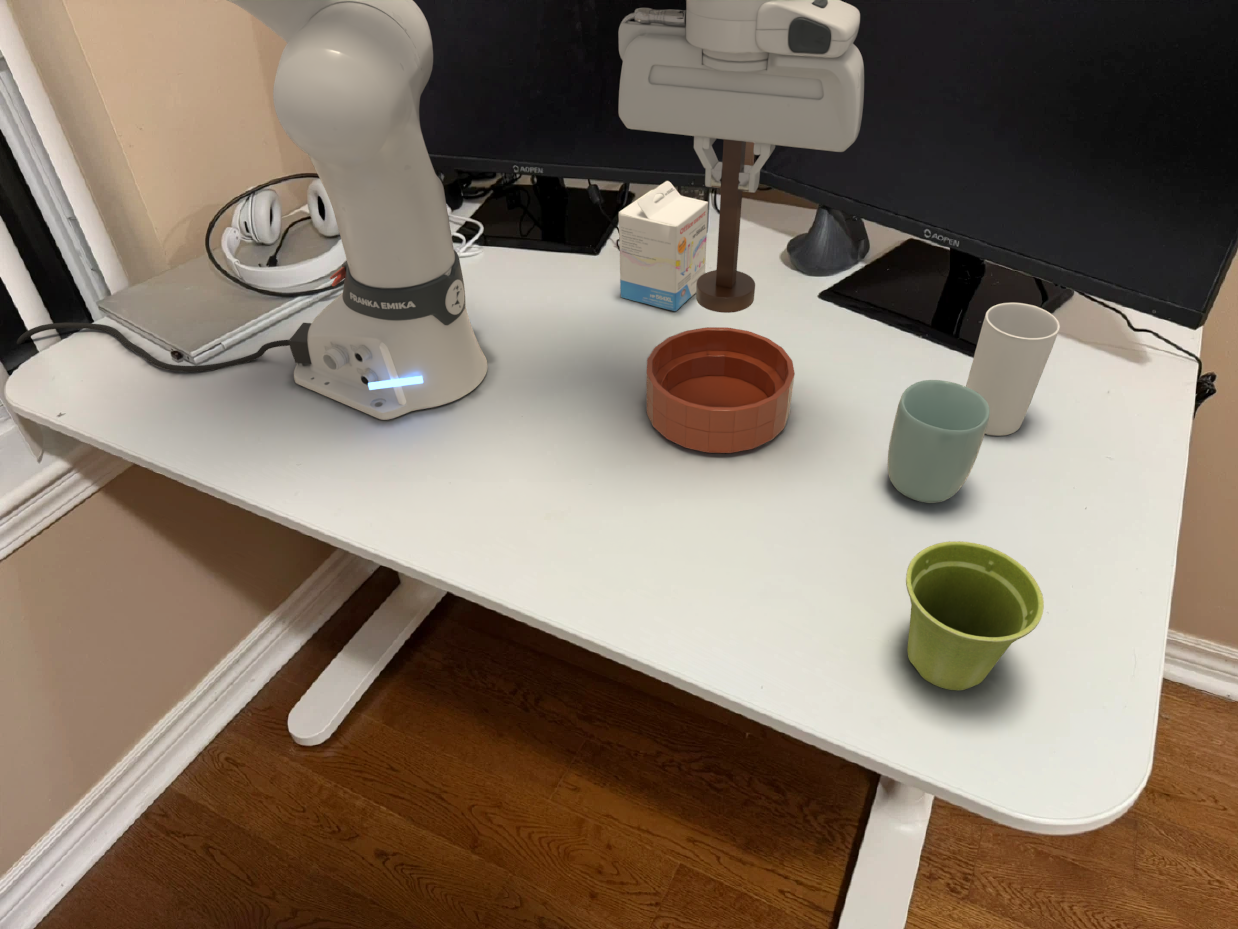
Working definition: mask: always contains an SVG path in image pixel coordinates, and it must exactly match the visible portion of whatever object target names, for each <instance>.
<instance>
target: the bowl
mask: <svg viewBox="0 0 1238 929" xmlns="http://www.w3.org/2000/svg"><path fill="white" fill-rule="evenodd" d="M645 373H646V374H645V375H646V377H645V378H646V382H645V383H646V415H647V417H648V419H649V421H650V423H651V425H652V427H653V428H654V429H655V430H656V431H657V432H658V433H660V434H661V436H663V437H664V438H665V439H666V440H669V441H671V442H673V443H675V444H677V445H679V446H681V447H683V448H686V449H689V450H693V451H699V452H703V453H708V454H709V453H714V454H725V453H726V454H732V453H733V454H734V453H739V452H744V451H748V450H749V451H750V450H753V449H756V448H758V447H760V446H762V445H764V444H766V443H769V442H772V441H773V440H774V439H775V438H776V437H777V436H778V435H779V434H780V433H781V432H782V431H783V430H784V429H785V427H786V424H787V422H788V419H789V417H790V412H791V405H792V397H793V388H794V381H795V375H796V374H795V367H794V362H793V359H792V358H791V357H790V356H789V354H788V353H787V351H786V350H785V349H784V348H783V347H782V346H780V345H779V344H777V343H776V342H775V341H773V340H772V339H770V338H768V337H766V336H763V335H760V334H758V333H755V332H753V331H749V330H743V329H740V328H739V329H738V328H733V327H726V326H725V327H717V326H716V327H715V326H713V327H711V326H709V327H707V326H706V327H699V328H694V329H690V330H684V331H681V332H679V333H676V334H674V335H671V336H669V337H667V338H666V339H664V340H663V341H661V342H660V343H659V344H657V345H655V347H653V349H652V351H651V353H650V354H649V356H648V357H647V358H646V372H645Z"/></svg>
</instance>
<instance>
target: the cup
mask: <svg viewBox="0 0 1238 929" xmlns="http://www.w3.org/2000/svg"><path fill="white" fill-rule="evenodd" d="M989 417H990V408H989V405H988V403H987V401H986V400H985V399H984V397H982V396H981V395H980V394H979V393H977V392H976V391H974V390H972V389H970V388H968V387H966V385H962V384H960V383H956V382H952V381H947V380H941V379H940V380H939V379H926V380H921V381H916V382H914V383H913V384H910V386H908V387H906V389H905V390H904V391H903V392H902V394H901V396H900V399H899V401H898V404H897V408H896V412H895V416H894V420H893V425H892V429H891V434H890V438H889V443H888V449H887V450H888V451H887V473H888V477H889V480H890V482H891V485H892V486H893V487H894V488H895V489H896V490H897V491H898V493H900V494H901V495H903V496H904V497H906V498H908V499H910V500H914V501H916V502H920V503H927V504H936V503H941V502H944V501H947V500H949V499H951V498H952V497H953V496H955V495H956V494H957V493H958V492H959V491H960V490H961V489H962V487H963V486H964V484H965V483H966V481H967V479H968V477H969V476H970V474H971V472H972V470H973V468H974V465H975V463H976V460H977V457H978V454H979V453H980V450H981V447H982V444H983V441H984V438H985V435H986V434H985V432H986V429H987V425H988V421H989Z"/></svg>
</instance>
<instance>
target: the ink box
mask: <svg viewBox="0 0 1238 929" xmlns="http://www.w3.org/2000/svg"><path fill="white" fill-rule="evenodd" d="M708 211H709V201H705V200H701V199H697V198H694V197H693V198H692V197H689V196H684V195H681V194H680V193H679V191H678V190H677V189H676V187H675V186H674V185H673V184H672V182H670V181H669V180H665V181H664V182H663V183H661V184H660V185H658V186H657V187H655V188H654V189H650V190H649V191H647V192H646V193H645V194H643V195H641V196H640V197H639V198H637V199H636V200H634V201H632V202H631V203H630V204H628V205H627V206H625V207H624V208H623V209H621V210H620V211H618V238H619V240H618V242H619V278H620V279H619V283H620V297H621V298H622V299H626V300H630V301H634V302H637V303H642V304H646V305H649V306H651V307H656V308H660V309H664V310H668V311H673V312H677V311H679V309H680V308H682V306H683V305H684V304H685V303H686V302H687V301H689V300H690V298H692V297H693V296H694V295H696V283H697V280H698V278H699V277H700V276H701V275H703V274H705V273H706V264H707V263H706V262H707V260H706V259H707V258H706V257H707V238H708V216H709V215H708V214H709V213H708Z"/></svg>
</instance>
